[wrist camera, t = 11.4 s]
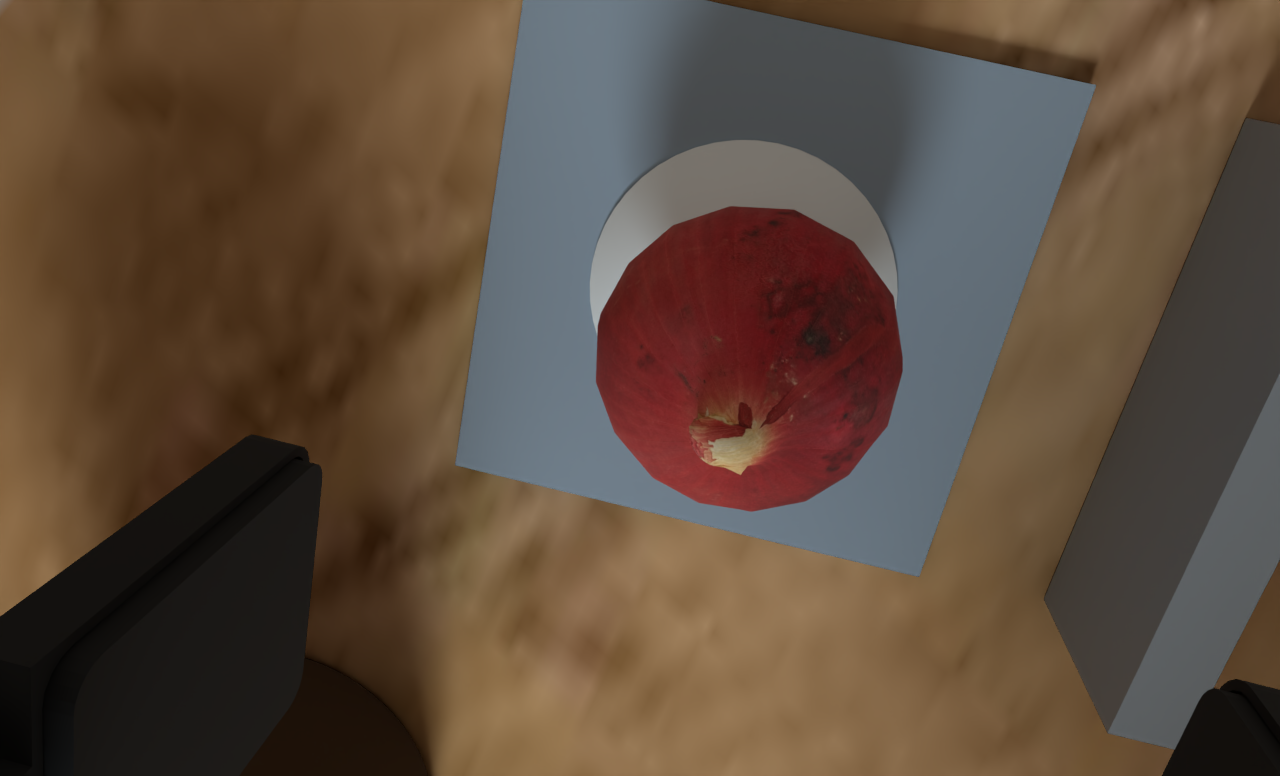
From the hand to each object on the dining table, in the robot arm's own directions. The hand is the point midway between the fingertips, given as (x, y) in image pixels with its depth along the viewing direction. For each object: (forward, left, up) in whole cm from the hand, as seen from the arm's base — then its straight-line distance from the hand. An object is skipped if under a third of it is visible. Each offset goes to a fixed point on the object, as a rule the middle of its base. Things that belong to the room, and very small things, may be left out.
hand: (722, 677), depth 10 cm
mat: (0, 0, -14) cm, 14 cm away
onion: (0, 0, -14) cm, 13 cm away
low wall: (0, -10, -14) cm, 17 cm away
